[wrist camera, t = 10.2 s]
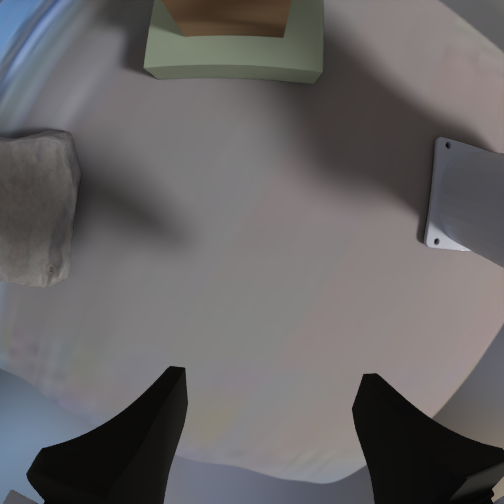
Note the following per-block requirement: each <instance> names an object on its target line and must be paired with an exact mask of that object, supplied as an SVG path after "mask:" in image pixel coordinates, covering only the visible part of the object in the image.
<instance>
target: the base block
mask: <svg viewBox="0 0 504 504" xmlns="http://www.w3.org/2000/svg"><path fill="white" fill-rule="evenodd" d="M323 40H324V0H292V2H291V6H290V11H289V15H288V20H287V24H286V29H285V33H284V38H277V37H262V36H191V37H184V35H183V33H182V32H181V30H180V29H179V27H178V25H177V24H176V22H175V21H174V19H173V17H172V16H171V14H170V13H169V11H168V10H167V8H166V7H165V5H164V4H163V2H162V0H154V5H153V10H152V15H151V21H150V27H149V33H148V39H147V46H146V53H145V61H144V69H146V70H147V71H148V72H149V73H151V74H152V75H153V76H155V77H156V78H157V79H159V80H161V79H180V78H243V79H263V80H277V81H288V82H298V83H307V84H314V83H315V82H316V80H317V79H318V78H319V76H320V75H321V74H322V72H323Z"/></svg>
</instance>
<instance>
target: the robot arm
mask: <svg viewBox="0 0 504 504" xmlns="http://www.w3.org/2000/svg"><path fill="white" fill-rule="evenodd" d="M446 142H447V144H448V148H446ZM436 238H437V242H436V243H435V244H434V240H435V239H436ZM424 244H425V245H426V246H427V247H429V248H439V249H450V250H461V251H471V252H475V253H477V254H479V255H481V256H483V257H485V258H486V259H488V260H490V261H492V262H494V263H496V264H497V265H499V266H501V267H503V268H504V153H492V152H489V151H486V150H483V149H480V148H477V147H474V146H471V145H468V144H465V143H461V142H458V141H455V140H451V139H448V138H444V137H438V138H437V139H436V140H435V151H434V164H433V176H432V185H431V194H430V202H429V210H428V217H427V223H426V229H425V235H424ZM187 406H188V398H187V386H186V372H185V368H183V367H175V366H170V367H168V368H167V369H166V370H165V372H164V373H163V374H162V375H161V376H160V377H159V378H158V379H157V380H156V381H155V382H154V383H153V384H152V385H151V386H150V387H149V388H148V389H147V390H146V391H145V392H144V393H143V394H142V395H141V396H140V397H139V398H138V399H137V400H135V401H134V402H133V403H132V404H131V405H130V406H128V407H127V408H126V409H125V410H123V411H122V412H121V413H119V414H118V415H117V416H115V417H114V418H112V419H111V420H109V421H108V422H106V423H104V424H103V425H101V426H99V427H97V428H96V429H94V430H92V431H90V432H88V433H86V434H84V435H81V436H79V437H77V438H74V439H71V440H69V441H66V442H63V443H60V444H56V445H53V446H49V447H46V448H42V449H41V451H40V452H39V453H38V455H37V456H36V458H35V460H34V461H33V463H32V465H31V467H30V468H29V470H28V472H27V474H26V475H27V478H28V481H29V482H30V484H31V485H32V486H33V488H34V489H35V490H36V491H37V492H38V493H39V495H40V496H41V497H42V498H43V499H44V501H45V502H44V504H163V503H164V497H165V491H166V485H167V480H168V474H169V471H170V467H171V464H172V461H173V458H174V455H175V451H176V448H177V445H178V442H179V439H180V436H181V433H182V430H183V427H184V423H185V418H186V412H187ZM352 412H353V419H354V424H355V429H356V432H357V435H358V438H359V441H360V444H361V447H362V450H363V453H364V456H365V459H366V463H367V466H368V469H369V473H370V476H371V482H372V487H373V493H374V501H375V504H504V496H503V497H501V498H499V499H498V500H497V501H495V502H494V503H493V502H492V500H491V498H492V497H493V496H494V492H493V490H492V488H493V487H494V486H495V485H496V484H497V483H498V482H499V481H500V480H501V478H502V477H503V476H504V450H503V449H502V448H499V447H494V446H491V445H487V444H483V443H480V442H477V441H474V440H471V439H469V438H466V437H464V436H461V435H460V434H457V433H455V432H453V431H451V430H449V429H448V428H446V427H444V426H442V425H441V424H439V423H437V422H435V421H434V420H433V419H431V418H430V417H428V416H427V415H425V414H424V413H423V412H421V411H420V410H419V409H417V408H416V407H415V406H414V405H412V404H411V403H410V402H409V401H408V400H406V399H405V398H404V397H403V396H402V395H401V394H399V393H398V392H397V391H396V390H395V389H394V388H393V387H392V386H391V385H390V384H388V383H387V382H386V381H385V380H384V379H383V378H382V377H381V376H379V375H378V374H377V373H373V374H363V377H362V380H361V383H360V386H359V389H358V392H357V395H356V398H355V401H354V404H353V407H352ZM3 504H38V503H36V502H34V501H33V500H31V499H29V498H27V497H25V496H23V495H21V494H19V493H18V492H16V491H14V490H10V492H9V494H8V495H7V497H6V499H5V501H4V502H3Z"/></svg>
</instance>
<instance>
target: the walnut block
mask: <svg viewBox="0 0 504 504" xmlns="http://www.w3.org/2000/svg"><path fill="white" fill-rule="evenodd" d="M162 2H163V4H164V5H165V7H166V8H167V10H168V11H169V13H170V14H171V16H172V17H173V19H174V21H175V22H176V24H177V25H178V27H179V29H180V30H181V32H182V33H183V35H184V37H191V36H262V37H277V38H284V33H285V29H286V24H287V20H288V15H289V11H290V6H291V2H292V0H162Z"/></svg>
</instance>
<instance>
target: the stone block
mask: <svg viewBox="0 0 504 504" xmlns="http://www.w3.org/2000/svg"><path fill="white" fill-rule="evenodd" d="M80 179H81V170H80V167H79V164H78V158H77V153H76V150H75V145H74V141H73V138H72V136H71V134H70V133H67V132H61V131H54V130H46V131H44V132H41V133H38V134H33V135H29V136H27V137H21V138H8V137H5V138H3V137H0V281H4V282H7V281H8V282H13V283H18V284H23V285H29V286H38V287H48V286H52V285H54V284H57V283H58V282H59V281H61V280H64V279H67V278H68V275H69V271H70V267H71V265H70V257H71V239H72V236H73V229H74V227H73V221H74V218H75V207H76V202H77V196H78V187H79V183H80Z"/></svg>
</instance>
